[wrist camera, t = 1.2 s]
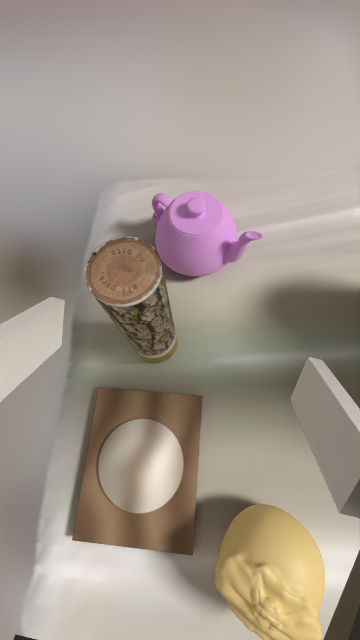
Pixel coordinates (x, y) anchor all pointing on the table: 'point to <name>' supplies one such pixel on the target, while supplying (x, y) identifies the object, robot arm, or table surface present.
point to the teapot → (197, 233)
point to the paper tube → (134, 294)
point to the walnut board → (141, 471)
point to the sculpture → (272, 574)
